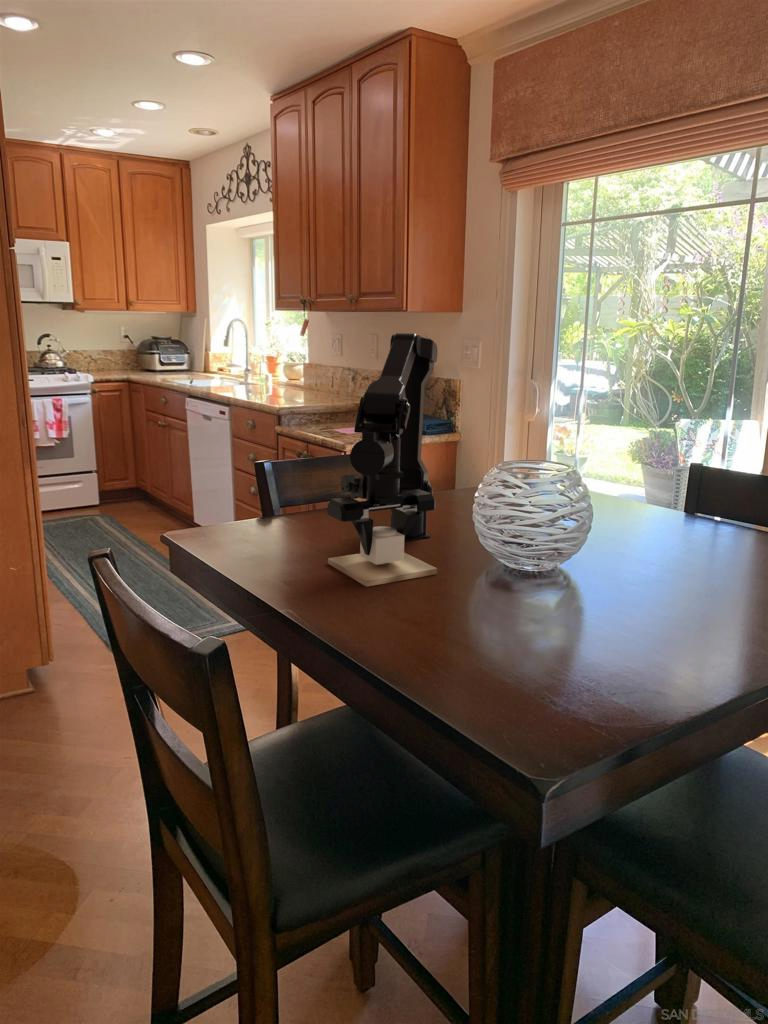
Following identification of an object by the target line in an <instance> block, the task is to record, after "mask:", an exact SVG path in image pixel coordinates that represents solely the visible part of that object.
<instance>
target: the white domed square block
mask: <svg viewBox="0 0 768 1024" xmlns="http://www.w3.org/2000/svg"><path fill="white" fill-rule="evenodd" d="M359 541H360V540H359ZM359 543H360V547H359V548H360V549H359V553H360V556H361V557H363V558H365V559H366V560H368V561H370V562H372V563H374V564H376V565H378V564H384V563H390V562H396V561H402V560H404V553H405V541H404V535H403V534H401V533H398V532H397V530H396V529H395V528H392V527H391V526H381V525H380V526H373V532H372V544H371V550H370V555H366V554H365V553H364V550H363V547H362V544H361V541H360V542H359Z"/></svg>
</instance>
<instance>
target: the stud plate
mask: <svg viewBox="0 0 768 1024" xmlns="http://www.w3.org/2000/svg"><path fill="white" fill-rule="evenodd" d="M327 564H328V565H330V566H331V567H333V568H335V569H336V570H338V571H340V572H341V573H343V574H345V575H346V576H348V577H349V578H352V579H353V580H354V581H356V582H358V583H360V584H361V585H362V586H364V587H372V586H377V585H384V584H389V583H396V582H399V581H404V580H405V581H406V580H410V579H416V578H422V577H423V578H424V577H427V576H432V575H437V574H438V568H437V567H434V566H433V565H430V564H429V563H427V562H425V561H423V560H421V559H419V558H416V557H415V556H412V555H410V554H408V553H406V552H404V560H402V561H396V562H390V563H384V564H378V565H376V564H374V563H372V562H370V561H368V560H366V559H365V558H363V557H361V556H360V552H359V553H355V554H346V555H342V556H335V557H328V558H327Z"/></svg>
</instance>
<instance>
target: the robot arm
mask: <svg viewBox="0 0 768 1024" xmlns="http://www.w3.org/2000/svg"><path fill="white" fill-rule="evenodd" d="M389 343H390V344H389V351H388V354H387V357H386V359H385V362H384V366H383V368H382V370H381V373H380V376H379V377H378V379H377V380H374V381H373V382H371V383H369V384H368V385H367V388H366V390H365V392H364V394H363V396H361V397H360V400H359V404H358V405H359V406H358V410H357V415H356V419H355V420H356V421H355V424H354V430H353V431H354V433H355V434H361V440H359V441H358V442H356V443H355V444H354V445H353V447H352V448H351V450H350V453H349V460H350V461H349V462H350V464H351V466H352V467H353V468H354V470H355V471H356V472H357V473H359V474H361V477H358V478H357V477H355V474H353V473H352V474H344V475H342V476H341V481H340V482H341V483H340V488H341V493H342V494H343V495H346V494H350V496H346V497H345V496H344V497H336V498H331V499H330V501H329V502H328V504H327V516H330V517H332V518H334V519H336V520H337V521H340V522H351V524H352V525H353V527H354V528H355V530H356V533H357V536H358V539H359V541H361V544H362V547H363V550H364V553H365V554H366V555H370V550H371V544H372V532H373V527H374V519H372V518H370V515H369V514H370V513H369V512H376V511H384V510H390V511H391V515H390V527H392V528H395V529H396V530H397V532H398V533H401V534H403V535H404V542H411V541H417V540H424V539H430V538H431V535H430V534H428V533H427V512H429V511H435V510H436V498H435V496H434V492H433V489H434V488H433V487H432V486H431V481H430V480H429V471H428V469H427V468H426V467H427V466H426V465H425V464H424V462H423V459H422V443H423V423H424V406H425V402H424V401H425V385H426V383H427V382H428V381H429V379H430V377H431V376H432V374H433V373H434V367H435V363H437V360H438V346H437V345H438V344H437V343H436V342H435V341H434V340H432V339H431V338H427V337H422V336H421V335H420V334H416V333H413V332H412V333H410V332H409V333H404V332H403V333H401V332H400V333H399V332H397V333H395V334H392V335H391V337H390V342H389ZM358 498H359V499H362V501H359V500H356V499H358Z"/></svg>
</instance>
